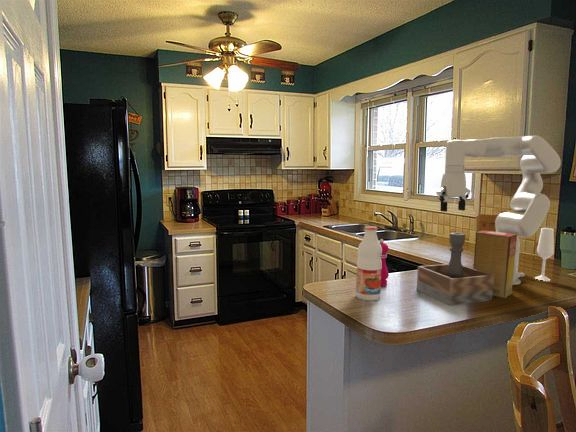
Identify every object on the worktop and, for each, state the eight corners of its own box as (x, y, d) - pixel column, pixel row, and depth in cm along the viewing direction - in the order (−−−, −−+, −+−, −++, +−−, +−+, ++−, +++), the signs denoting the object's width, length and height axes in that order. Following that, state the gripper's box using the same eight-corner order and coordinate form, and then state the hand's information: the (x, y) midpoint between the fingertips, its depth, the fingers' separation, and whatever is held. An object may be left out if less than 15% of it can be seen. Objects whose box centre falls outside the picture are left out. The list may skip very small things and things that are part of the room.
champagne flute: (546, 282, 182) (552, 230, 180) (531, 278, 188) (536, 228, 185) (553, 279, 186) (559, 229, 183) (538, 276, 192) (543, 227, 189)
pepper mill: (375, 280, 179) (377, 236, 177) (390, 284, 175) (393, 239, 172) (368, 284, 174) (370, 239, 171) (383, 287, 169) (385, 241, 167)
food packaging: (512, 293, 164) (518, 233, 161) (505, 298, 158) (510, 236, 154) (479, 286, 174) (483, 229, 170) (470, 291, 167) (475, 232, 164)
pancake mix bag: (513, 272, 199) (518, 216, 195) (471, 266, 209) (475, 213, 206) (514, 269, 204) (519, 215, 201) (474, 263, 215) (478, 212, 211)
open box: (455, 285, 174) (456, 263, 173) (492, 300, 156) (494, 275, 154) (416, 289, 168) (417, 266, 166) (450, 305, 149) (452, 279, 148)
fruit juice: (367, 292, 163) (370, 224, 160) (385, 298, 156) (388, 227, 152) (350, 296, 158) (353, 225, 154) (368, 302, 150) (371, 229, 147)
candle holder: (456, 298, 157) (461, 235, 154) (442, 294, 162) (446, 233, 159) (464, 295, 161) (468, 234, 158) (449, 291, 166) (454, 231, 163)
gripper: (463, 169, 174) (461, 208, 176) (431, 170, 167) (430, 210, 170) (477, 170, 167) (475, 210, 169) (445, 170, 160) (443, 212, 163)
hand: (452, 210), depth 169 cm, fingers open, 9 cm apart
